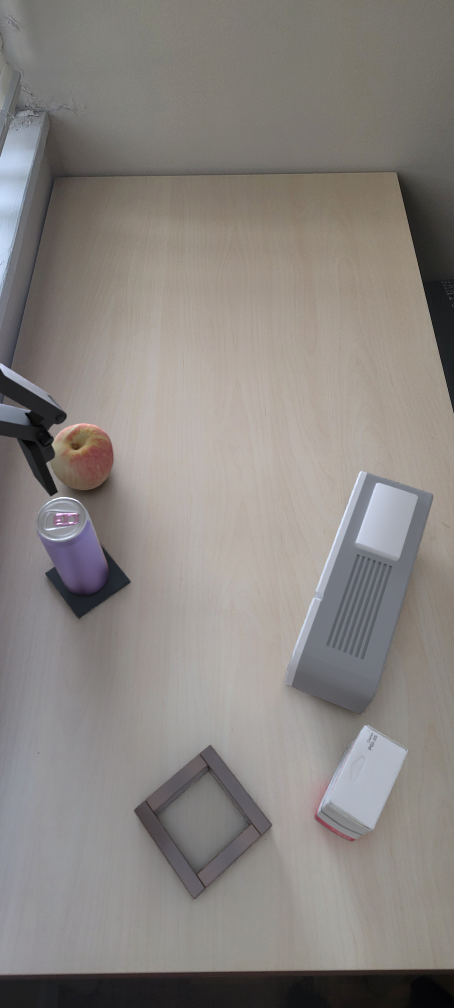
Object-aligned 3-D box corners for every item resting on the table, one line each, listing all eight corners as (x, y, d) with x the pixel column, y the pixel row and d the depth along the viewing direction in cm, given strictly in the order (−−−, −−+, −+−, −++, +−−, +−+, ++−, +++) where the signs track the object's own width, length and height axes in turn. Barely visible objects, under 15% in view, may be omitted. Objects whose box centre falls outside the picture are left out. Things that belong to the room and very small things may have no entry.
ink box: (352, 844, 67) (373, 835, 57) (310, 817, 69) (324, 804, 59) (386, 769, 71) (411, 749, 61) (346, 745, 73) (365, 721, 62)
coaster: (78, 619, 81) (77, 617, 80) (45, 574, 84) (44, 572, 83) (130, 582, 83) (130, 580, 83) (97, 540, 87) (96, 538, 86)
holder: (195, 899, 65) (193, 899, 62) (137, 813, 69) (133, 810, 66) (270, 828, 68) (272, 825, 65) (211, 750, 72) (210, 744, 69)
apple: (114, 444, 95) (105, 409, 88) (121, 493, 90) (112, 461, 84) (55, 454, 94) (41, 420, 87) (59, 505, 89) (45, 472, 83)
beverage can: (109, 596, 82) (86, 541, 69) (62, 599, 81) (31, 543, 69) (110, 554, 85) (89, 494, 72) (65, 557, 85) (36, 496, 72)
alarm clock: (348, 508, 89) (364, 459, 79) (414, 531, 87) (438, 483, 77) (281, 691, 76) (289, 659, 66) (357, 722, 74) (377, 694, 64)
